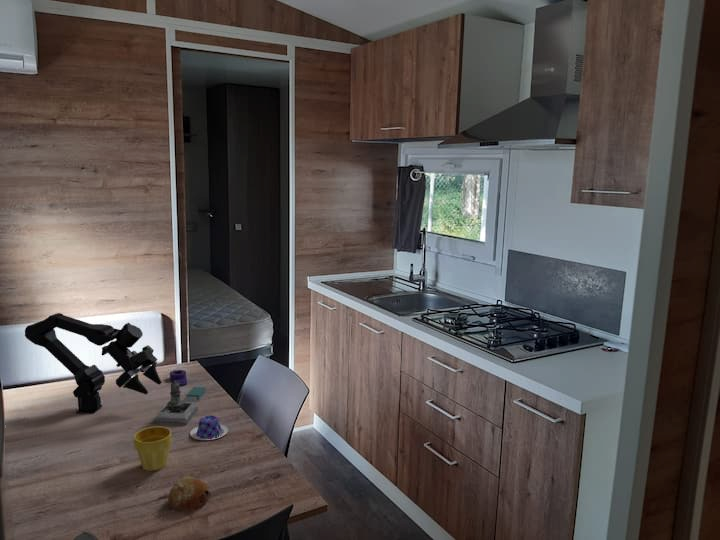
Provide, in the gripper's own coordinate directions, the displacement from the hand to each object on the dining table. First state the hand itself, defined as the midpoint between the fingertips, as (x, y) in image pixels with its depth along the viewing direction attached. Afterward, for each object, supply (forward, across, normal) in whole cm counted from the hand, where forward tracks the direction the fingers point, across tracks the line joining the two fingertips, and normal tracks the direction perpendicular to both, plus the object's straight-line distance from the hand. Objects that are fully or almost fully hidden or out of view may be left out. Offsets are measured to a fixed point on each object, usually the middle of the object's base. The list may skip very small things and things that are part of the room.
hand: (154, 388), depth 201 cm
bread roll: (+32, -48, -18) cm, 60 cm away
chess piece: (+12, 0, 0) cm, 12 cm away
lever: (+3, +32, +12) cm, 35 cm away
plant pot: (+19, -32, -5) cm, 38 cm away
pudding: (+24, -10, -10) cm, 28 cm away
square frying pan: (+12, +9, +2) cm, 15 cm away
